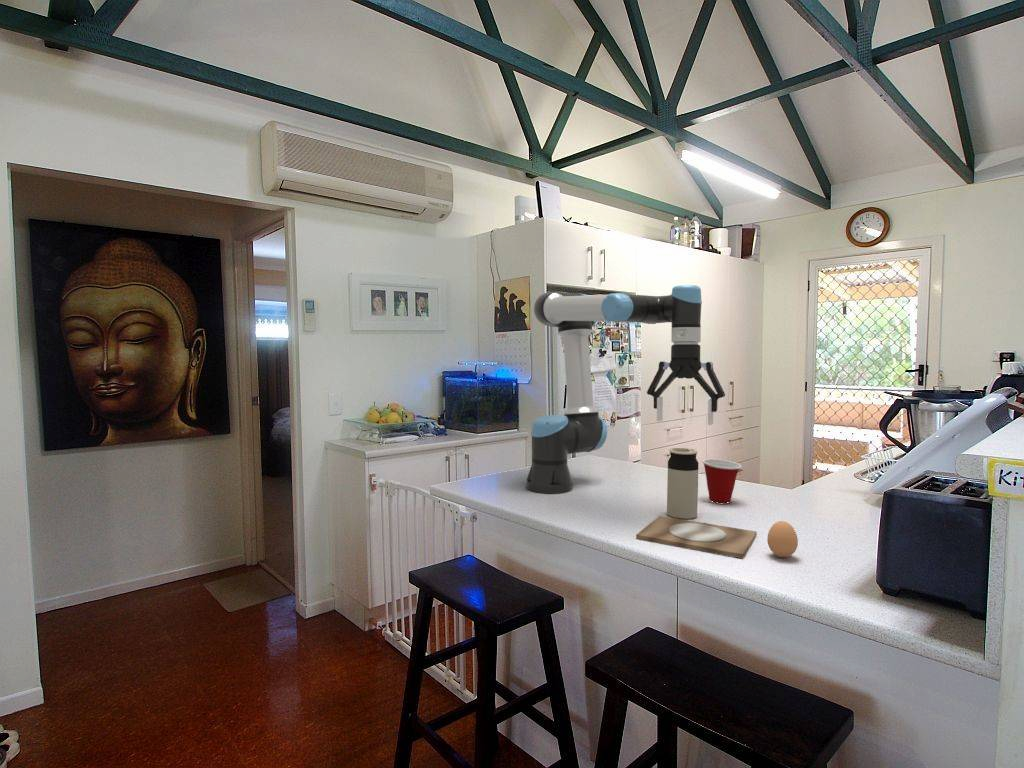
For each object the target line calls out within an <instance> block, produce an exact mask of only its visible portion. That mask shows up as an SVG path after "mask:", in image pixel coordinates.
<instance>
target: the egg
mask: <svg viewBox="0 0 1024 768" xmlns="http://www.w3.org/2000/svg"><path fill="white" fill-rule="evenodd" d="M798 541H799V539H798V535H797V533H796V530H795V529H794V527H793V526H792V524H790V523H789V522H787V521H785V520H779V521H777V522H774V523H773V524H772V525H771V527H770V528H769V530H768V533H767V544H768V547H769V550H770V551H771V552H772V553H773V554H774V555H776V556H777V557H779V558H785V559H786V558H788V557H790V556H792V555H793V554H794V553H795V552H796V551H797V548H798V545H799V544H798V543H799V542H798Z"/></svg>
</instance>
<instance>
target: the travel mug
mask: <svg viewBox="0 0 1024 768" xmlns="http://www.w3.org/2000/svg"><path fill="white" fill-rule="evenodd" d="M668 451H669V454H670V457H669V459H668V460H667V489H666V491H667V492H666V499H667V500H666V514H667V515H668V516H669V517H670V518H677V519H678V518H679V519H683V520H693V519H694V518H698V517H697V516H698V507H699V506H698V503H699V502H698V500H699V495H698V493H699V461H698V459H697V454H698V453H699V451H698V450H697V449H694V448H689V447H688V448H687V447H674V448H669V450H668Z"/></svg>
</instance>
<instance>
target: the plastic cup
mask: <svg viewBox="0 0 1024 768" xmlns="http://www.w3.org/2000/svg"><path fill="white" fill-rule="evenodd" d="M702 463H703V467H704V471H705V478H706V486H707V491H708V500H709V501H710V500H711V501H713V502H718V503H727V502H730V503H731V501H732V497H733V492H734V489H735V485H736V479H737V476H738V474H739V470H740V469H741V468H742V465H741V464H740V463H738V462H734V461H732V460H731V461H730V460H725V459H719V458H706V459H703V460H702ZM711 501H710V502H711ZM713 502H712V503H713Z"/></svg>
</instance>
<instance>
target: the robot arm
mask: <svg viewBox="0 0 1024 768" xmlns="http://www.w3.org/2000/svg"><path fill="white" fill-rule="evenodd" d="M702 304H703V301H702V289H701V287H700V286H698V285H697V284H696V285H693V284H683V285H682V284H681V285H676V286H673V287H672V290H671V294H668V295H661V296H660V295H659V296H657V295H647V294H646V295H642V294H641V295H640V294H630V293H629V294H628V293H622V292H615V293H609V294H592V295H590V294H589V295H588V294H584V293H581V292H561V291H547V292H544V293H542V294H541V295H539V296H538V297H537V299H535V302H534V305H533V313H534V316H535V318H536V319H537V321H538V322H539V323H540V324H542V325H543V326H547V327H551V328H557V334H558V335H559V336H560V337H561V338H562V342H563V343H562V344H563V353H564V354H563V357H564V367H565V368H564V369H565V370H564V372H565V383H566V384H565V385H566V395H567V398H566V400H567V409H566V410H565V411H564V413H563V414H554V415H553V414H551V415H550V414H549V415H544V416H541V417H537V418H535V419H534V420H533V422H532V424H531V432H530V434H531V465H530V468H529V472H528V474H527V478H526V483H525V485H526V487H525V488H526V490H528V491H531V492H535V493H539V494H540V493H541V494H561V493H562V494H563V493H566V492H570V491H572V490H573V484H574V483H573V479H572V475H571V472H570V469H569V466H568V455H571V454H579V453H590V452H593V451H597V450H599V449H601V448H602V447H603V445H604V444H605V442H606V440H607V437H608V425H607V423H606V422H605V420H604V419H603V417H600V415H599V410H598V409H597V408H595V406H594V398H593V397H594V396H593V395H594V393H593V387H592V386H593V385H592V370H591V367H592V366H591V355H590V345H589V343H590V342H589V336H590V335H591V334H592V333H593V327H594V326H595V325H596V324H597V322H612V323H640V324H641V323H642V324H648V325H656V324H665V323H671V328H670V329H671V331H670V332H671V337H670V338H671V343H673V344H672V345H671V347H670V349H671V350H670V362H668V361H667V362H666V361H659V363H658V368H657V372H656V373H655V376H654V377H653V379H652V381H651V383H650V385H649V387H648V388H647V391H646V394H647V395H650V396H652V397H653V409H655V410H656V422H661V421H663V412H664V411H663V407H664V406H663V405H664V403H663V402H664V400H663V399H664V397H663V396H661V395H662V394H663V393H664V392H665V391H666V389H667V388H669V386H670V385H671V384H672V383H673V381H675V379H676V378H678V379H690V380H691V379H694V380H695V381H696V382H697V383H698V384H699V386H701V388H702V389H703V390H704V391H705V393H706V394H707V395H708V396H709V397H710V399H708V400H707V425H708V426H711V425H713V424H714V413H716V412H717V411H718V400H719V399H721V398H724V397H725V396H726V393H725V391H724V389H723V387H722V385H721V383H720V381H719V378H718V377H717V375H716V373H715V371H714V363H713V362H712V361H708V362H701V345H700V344H699V343H701V341H702V340H701V328H702V327H701V322H702V320H701V317H702ZM668 368H669V369H670V370H671V373H670V374H669V375H668V377H666V379H665V380H664V381H663V382H662V383H661V384H660V381H661V379H662V377H663V375H664V374H665V371H667V370H668ZM702 368H703V370H704V371H706V373H707V376H708V377H709V380H710V382H711V384H712V385H713V387H714V388H713V389H712V387H711V386H710V385H709V384H708V383H707V381H706V380H705V379H704V377H703V375H701V373H700V371H701V369H702ZM659 384H660V386H659V387H658V385H659Z"/></svg>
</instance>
